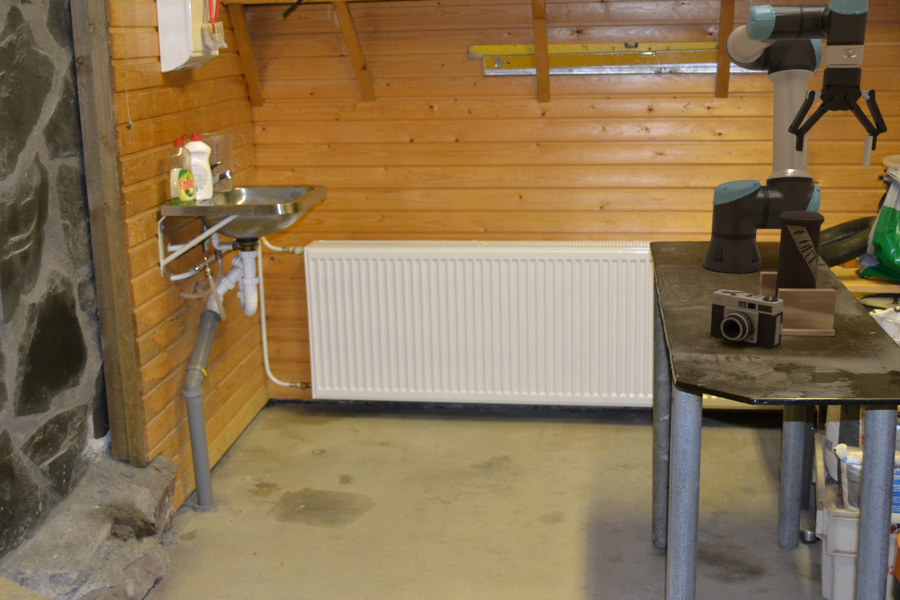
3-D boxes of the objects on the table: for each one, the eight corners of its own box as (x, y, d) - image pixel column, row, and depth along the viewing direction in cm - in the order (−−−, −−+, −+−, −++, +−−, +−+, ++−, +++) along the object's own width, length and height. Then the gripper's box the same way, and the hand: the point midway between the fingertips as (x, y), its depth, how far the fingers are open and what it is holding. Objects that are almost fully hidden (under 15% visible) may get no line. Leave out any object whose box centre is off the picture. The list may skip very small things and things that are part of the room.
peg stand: (755, 308, 202) (758, 270, 200) (805, 309, 201) (809, 270, 199) (779, 335, 183) (782, 293, 181) (834, 335, 182) (838, 293, 180)
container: (794, 311, 185) (802, 216, 180) (763, 301, 193) (770, 210, 188) (825, 306, 189) (834, 212, 183) (794, 296, 197) (801, 206, 191)
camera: (696, 337, 182) (700, 290, 180) (724, 330, 188) (728, 284, 185) (755, 354, 171) (760, 304, 169) (782, 346, 177) (788, 298, 174)
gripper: (787, 67, 188) (780, 168, 194) (910, 65, 186) (899, 167, 192) (778, 67, 195) (771, 164, 201) (896, 65, 193) (885, 163, 199)
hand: (833, 166), depth 196 cm, fingers open, 13 cm apart
